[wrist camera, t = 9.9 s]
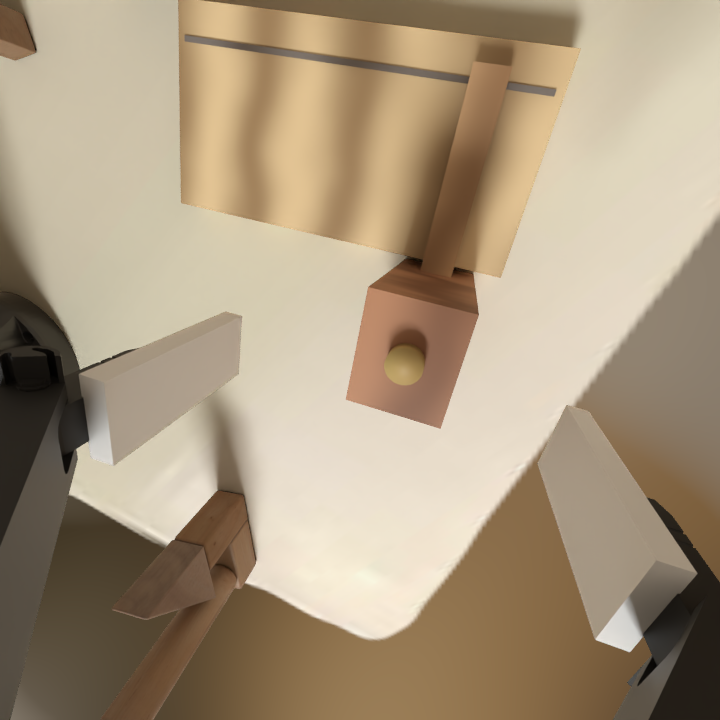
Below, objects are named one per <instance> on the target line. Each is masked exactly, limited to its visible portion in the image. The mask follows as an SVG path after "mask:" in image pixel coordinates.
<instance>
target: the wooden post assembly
mask: <svg viewBox="0 0 720 720" xmlns="http://www.w3.org/2000/svg"><path fill="white" fill-rule="evenodd" d="M255 564H256V561H255V556H254V550H253V545H252V540H251V534H250V529H249V523H248V520H247V511H246V506H245V500H244V496H243V495H241V494H235V493H230V492H224V491H217V492H216V493H215V494H214V495H213V496H212V497H211V498H210V499H209V500H208V501H207V503H206V504H205V505H204V506H203V507H202V508H201V509H200V510H199V512H198V513H197V514H196V515H195V516H194V517H193V518H192V519H191V520H190V522H189V523H188V524H187V525H186V526H185V527H184V528H183V529H182V530H181V532H180V533H179V534H178V535H177V536H176V538H175V540H172V541H171V542H170V543H169V544H168V546H167V547H166V548H165V549H164V550H163V551H162V552H161V553H160V555H159V556H158V557H157V558H156V559H155V560H154V561H153V562H152V563H151V565H150V566H149V567H148V568H147V569H146V570H145V571H144V572H143V573H142V575H141V576H140V577H139V578H138V579H137V580H136V581H135V582H134V583H133V585H132V586H131V587H130V588H129V589H128V590H127V591H126V592H125V594H124V595H123V596H122V597H121V598H120V599H119V600H118V601H117V602H116V604H115V605H114V606H113V607H112V610H114V611H118V612H121V613H124V614H128V615H131V616H134V617H138V618H141V619H145V620H147V619H150V618H154V617H157V616H160V615H163V614H166V613H169V612H173V611H175V610H179V609H180V610H179V611H178V612H177V614H176V615H175V617H174V618H173V619H172V621H171V622H170V623H169V625H168V626H167V628H166V629H165V630H164V632H163V633H162V635H161V636H160V637H159V639H158V640H157V642H156V643H155V644H154V646H153V647H152V648H151V650H150V651H149V653H148V654H147V655H146V657H145V658H144V659H143V661H142V662H141V664H140V665H139V666H138V668H137V669H136V670H135V672H134V673H133V675H132V676H131V677H130V679H129V680H128V682H127V683H126V684H125V686H124V687H123V689H122V690H121V691H120V693H119V694H118V695H117V697H116V698H115V700H114V701H113V702H112V704H111V705H110V707H109V708H108V709H107V711H106V712H105V713H104V715H103V716H102V717H101V720H153V719H154V717H155V716H156V714H157V712H158V711H159V709H160V707H161V706H162V704H163V703H164V701H165V699H166V698H167V696H168V695H169V693H170V691H171V689H172V688H173V686H174V685H175V683H176V681H177V680H178V678H179V677H180V675H181V674H182V672H183V670H184V669H185V667H186V665H187V664H188V662H189V661H190V659H191V657H192V656H193V654H194V652H195V651H196V649H197V647H198V646H199V644H200V643H201V641H202V639H203V638H204V636H205V635H206V633H207V631H208V630H209V628H210V626H211V625H212V623H213V622H214V620H215V619H216V617H217V615H218V614H219V612H220V610H221V609H222V607H223V606H224V604H225V602H226V601H227V599H228V597H229V596H230V594H231V593H232V591H233V589H234V588H238V589H241V588H242V586H243V585H244V583H245V581H246V580H247V578H248V576H249V575H250V573H251V571H252V570H253V568H254V566H255Z"/></svg>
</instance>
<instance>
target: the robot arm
mask: <svg viewBox="0 0 720 720" xmlns="http://www.w3.org/2000/svg"><path fill="white" fill-rule="evenodd" d="M241 325H242V316H240V315H236V314H232V313H229V312H224V313H221V314H219V315H216V316H214V317H212V318H209V319H207V320H205V321H202V322H200V323H198V324H195V325H193V326H190V327H188V328H186V329H183V330H181V331H179V332H176V333H174V334H172V335H169V336H167V337H165V338H162V339H160V340H157V341H155V342H153V343H150V344H148V345H146V346H143V347H141V348H137V349H132V350H127V351H124V352H122V353H119V354H117V355H115V356H112V358H107V359H105V360H102V361H101V363H99V362H98V363H95V364H93V365H90V366H88V367H86V368H83V369H81V370H79V366H78V362H77V359H76V357H75V354H74V352H73V350H72V348H71V346H70V344H69V342H68V341H67V339H66V337H65V336H64V334H63V333H62V331H61V330H60V329H59V327H58V326H57V325H56V324H55V323H54V321H53V320H52V319H51V318H50V317H49V316H48V315H47V314H46V313H45V312H44V311H42V310H41V309H40V308H39V307H37V306H36V305H35V304H33V303H32V302H30V301H28V300H27V299H25V298H23V297H21V296H18V295H15V294H12V293H8V292H0V720H10V718H11V715H12V711H13V707H14V703H15V699H16V695H17V691H18V687H19V684H20V679H21V676H22V672H23V668H24V664H25V660H26V657H27V653H28V649H29V645H30V641H31V637H32V633H33V629H34V626H35V622H36V618H37V614H38V610H39V606H40V603H41V598H42V595H43V591H44V586H45V583H46V579H47V575H48V572H49V568H50V564H51V560H52V556H53V552H54V548H55V544H56V540H57V536H58V533H59V529H60V525H61V521H62V517H63V514H64V510H65V506H66V502H67V498H68V494H69V490H70V487H71V483H72V479H73V475H74V471H75V467H76V463H77V460H78V458H77V451H76V449H77V448H78V447H80V446H81V445H83V444H85V443H86V442H88V443H89V450H90V456H91V458H92V459H95V460H98V461H101V462H103V463H106V464H109V465H112V466H114V465H116V464H117V463H118V462H120V461H121V460H123V459H124V458H125V457H127V456H128V455H129V454H131V453H132V452H133V451H135V450H136V449H137V448H139V447H140V446H142V445H143V444H144V443H146V442H147V441H148V440H150V439H151V438H152V437H154V436H155V435H156V434H158V433H159V432H161V431H162V430H163V429H165V428H166V427H167V426H169V425H170V424H171V423H173V422H174V421H175V420H177V419H178V418H180V417H181V416H182V415H184V414H185V413H186V412H188V411H189V410H190V409H192V408H193V407H194V406H196V405H197V404H199V403H200V402H201V401H203V400H204V399H205V398H207V397H208V396H209V395H211V394H212V393H213V392H215V391H216V390H218V389H219V388H220V387H222V386H223V385H224V384H226V383H227V382H228V381H230V380H231V379H232V378H234V377H235V376H237V375H238V374H239V359H240V342H241ZM538 466H539V469H540V473H541V476H542V479H543V482H544V485H545V488H546V491H547V494H548V497H549V500H550V503H551V506H552V509H553V512H554V515H555V518H556V521H557V524H558V528H559V531H560V534H561V537H562V540H563V543H564V546H565V549H566V552H567V555H568V558H569V561H570V564H571V568H572V571H573V574H574V577H575V579H576V583H577V585H578V589H579V592H580V595H581V598H582V601H583V604H584V607H585V610H586V613H587V617H588V620H589V622H590V626H591V629H592V632H593V635H594V638H595V640H598V641H600V642H603V643H606V644H609V645H612V646H614V647H617V648H620V649H623V650H625V651H628V652H630V651H631V650H632V649H633V648H634V647H635V646H636V644H637V643H638V642H639V641H640V639H642V637H643V636H644V638H645V640H646V642H647V645H648V647H649V649H650V651H651V654H652V656H651V657H650V658H649V659H648V660H647V661H646V662H645V663H644V665H643V666H642V667H641V668H640V669H639V670H638V671H637V672H636V674H634V676H633V677H632V678H631V679H630V680H629V681H628V682H627V683H628V684H629V685H630V686H631V688H630V690H629V692H628V694H627V695H626V697H625V699H624V701H623V703H622V704H621V707H620V708H619V710H618V712H617V713H616V715H615V717H614V719H613V720H720V582H719V581H718V579H717V578H716V576H715V575H714V574H713V572H712V571H711V569H710V568H709V567H708V565H707V564H706V562H705V561H704V560H703V558H702V557H701V555H700V554H699V553H698V551H697V550H696V548H693V544H692V543H691V541H690V540H689V539H688V537H687V536H686V535H685V534H683V530H682V529H681V527H680V526H679V525H678V523H677V522H676V521H675V519H674V518H673V516H672V515H671V514H670V513H669V512H667V511H666V510H665V509H664V508H663V507H662V506H661V505H660V504H659V503H658V502H656V501H655V500H653V499H650V498H647V497H646V496H645V495H644V493H643V492H642V490H641V489H640V487H639V486H638V484H637V483H636V481H635V480H634V478H633V477H632V475H631V474H630V472H629V471H628V470H627V468H626V466H625V465H624V463H623V462H622V460H621V459H620V457H619V456H618V454H617V453H616V451H615V450H614V448H613V447H612V445H611V444H610V443H609V441H608V439H607V438H606V437H605V435H604V434H603V432H602V431H601V429H600V428H599V426H598V425H597V423H596V422H595V420H594V419H593V417H592V416H591V414H590V413H589V411H586V410H583V409H579V408H575V407H572V406H568V405H566V407H565V409H564V411H563V413H562V415H561V417H560V419H559V421H558V423H557V425H556V427H555V429H554V431H553V434H552V436H551V438H550V440H549V442H548V444H547V446H546V448H545V450H544V452H543V454H542V456H541V458H540V460H539V462H538Z"/></svg>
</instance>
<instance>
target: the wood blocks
mask: <svg viewBox="0 0 720 720" xmlns="http://www.w3.org/2000/svg"><path fill="white" fill-rule="evenodd" d="M34 53H36V51H35V48H34V45H33V42H32V39H31V36H30V33H29V30H28V27H27V24H26V22H25V19H24V16H23V14H22V13H19V12H17V11H15V10H13V9H11V8H8V7H6V6H4V5H2V4H0V56H3V57H6V58H9V59H12V60H18V59H21V58H23V57H26V56H29V55H31V54H34Z"/></svg>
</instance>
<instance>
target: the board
mask: <svg viewBox="0 0 720 720" xmlns="http://www.w3.org/2000/svg"><path fill="white" fill-rule="evenodd" d="M178 11H179V86H180V160H181V203H183V204H188V205H192V206H196V207H200V208H205V209H209V210H213V211H217V212H222V213H226V214H230V215H235V216H239V217H243V218H247V219H252V220H256V221H260V222H264V223H269V224H273V225H277V226H282V227H286V228H290V229H294V230H299V231H303V232H307V233H311V234H316V235H320V236H324V237H329V238H333V239H337V240H341V241H346V242H350V243H354V244H358V245H363V246H367V247H371V248H376V249H380V250H384V251H388V252H393V253H397V254H401V255H405V256H410V257H414V258H418V259H423V258H424V254H425V250H426V246H427V242H428V239H429V235H430V231H431V227H432V223H433V219H434V215H435V211H436V207H437V203H438V199H439V195H440V191H441V187H442V184H443V180H444V176H445V172H446V168H447V164H448V160H449V156H450V152H451V148H452V144H453V140H454V136H455V133H456V129H457V125H458V121H459V117H460V113H461V109H462V105H463V101H464V97H465V93H466V89H467V85H468V82H469V78H470V74H471V70H472V66H473V62H474V61H476V62H483V63H490V64H498V65H505V66H512V70H511V74H510V77H509V81H508V84H507V87H506V91H505V94H504V98H503V101H502V105H501V108H500V111H499V115H498V118H497V122H496V125H495V129H494V132H493V135H492V139H491V142H490V146H489V149H488V153H487V156H486V159H485V163H484V166H483V170H482V173H481V177H480V180H479V183H478V187H477V190H476V194H475V197H474V200H473V204H472V207H471V211H470V214H469V218H468V221H467V224H466V228H465V231H464V235H463V238H462V242H461V245H460V248H459V252H458V255H457V259H456V262H455V266H454V267H457V268H461V269H465V270H470V271H474V272H478V273H482V274H487V275H491V276H495V277H499V278H501V275H502V273H503V270H504V267H505V264H506V261H507V258H508V255H509V253H510V250H511V247H512V244H513V241H514V238H515V235H516V233H517V230H518V227H519V224H520V221H521V218H522V215H523V213H524V210H525V207H526V204H527V201H528V198H529V195H530V193H531V190H532V187H533V184H534V181H535V178H536V175H537V173H538V170H539V167H540V164H541V161H542V158H543V155H544V153H545V150H546V147H547V144H548V141H549V138H550V135H551V133H552V130H553V127H554V124H555V121H556V118H557V115H558V113H559V110H560V107H561V104H562V101H563V98H564V95H565V93H566V90H567V87H568V84H569V81H570V78H571V75H572V73H573V70H574V67H575V64H576V61H577V58H578V55H579V53H580V50H581V49H579V48H572V47H564V46H556V45H548V44H540V43H532V42H524V41H517V40H509V39H501V38H493V37H485V36H477V35H469V34H462V33H454V32H446V31H438V30H430V29H422V28H414V27H407V26H399V25H391V24H383V23H375V22H367V21H359V20H352V19H344V18H336V17H328V16H320V15H312V14H304V13H297V12H289V11H281V10H273V9H265V8H257V7H249V6H242V5H234V4H226V3H218V2H210V1H202V0H178Z"/></svg>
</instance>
